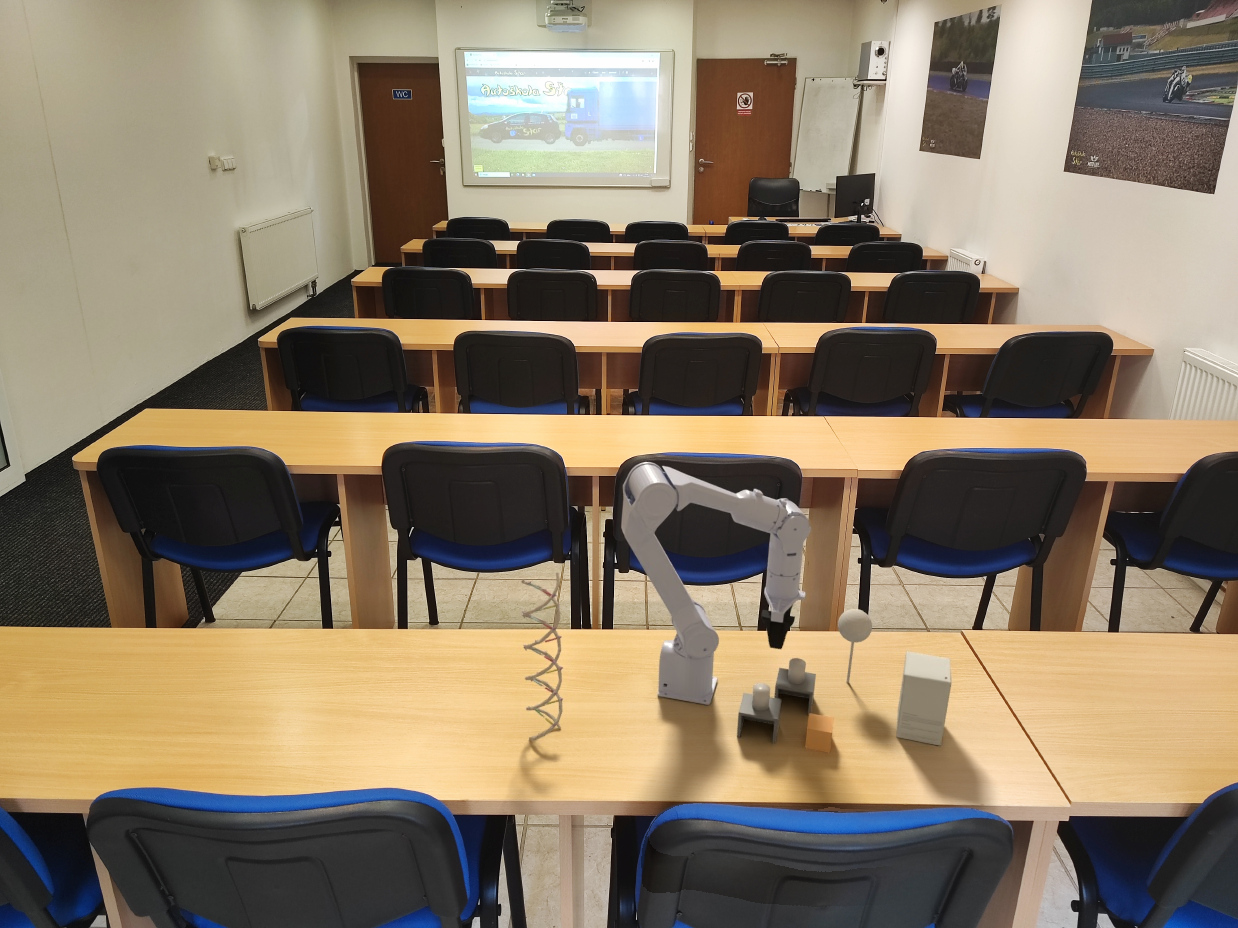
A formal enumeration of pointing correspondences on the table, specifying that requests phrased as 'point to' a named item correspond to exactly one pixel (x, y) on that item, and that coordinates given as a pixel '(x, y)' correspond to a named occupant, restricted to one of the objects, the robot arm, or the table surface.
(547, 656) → the dna model
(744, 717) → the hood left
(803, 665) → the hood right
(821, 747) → the cube
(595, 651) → the table surface
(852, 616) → the lollipop
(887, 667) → the table surface
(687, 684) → the robot arm
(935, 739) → the supplement box
